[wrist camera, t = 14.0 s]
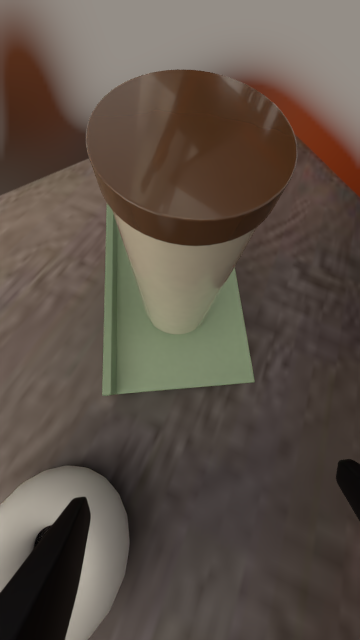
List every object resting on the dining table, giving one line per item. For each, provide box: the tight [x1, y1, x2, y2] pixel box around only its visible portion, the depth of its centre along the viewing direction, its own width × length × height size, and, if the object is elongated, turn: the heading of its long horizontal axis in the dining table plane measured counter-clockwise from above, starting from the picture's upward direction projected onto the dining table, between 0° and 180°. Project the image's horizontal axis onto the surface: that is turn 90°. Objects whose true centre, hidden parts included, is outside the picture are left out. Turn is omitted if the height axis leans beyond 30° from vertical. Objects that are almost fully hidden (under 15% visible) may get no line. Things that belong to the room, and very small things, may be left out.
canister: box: [86, 70, 297, 334], centre depth 12 cm, size 6×6×12 cm
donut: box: [0, 465, 130, 640], centre depth 14 cm, size 10×3×10 cm
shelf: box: [102, 204, 255, 396], centre depth 19 cm, size 16×11×6 cm
